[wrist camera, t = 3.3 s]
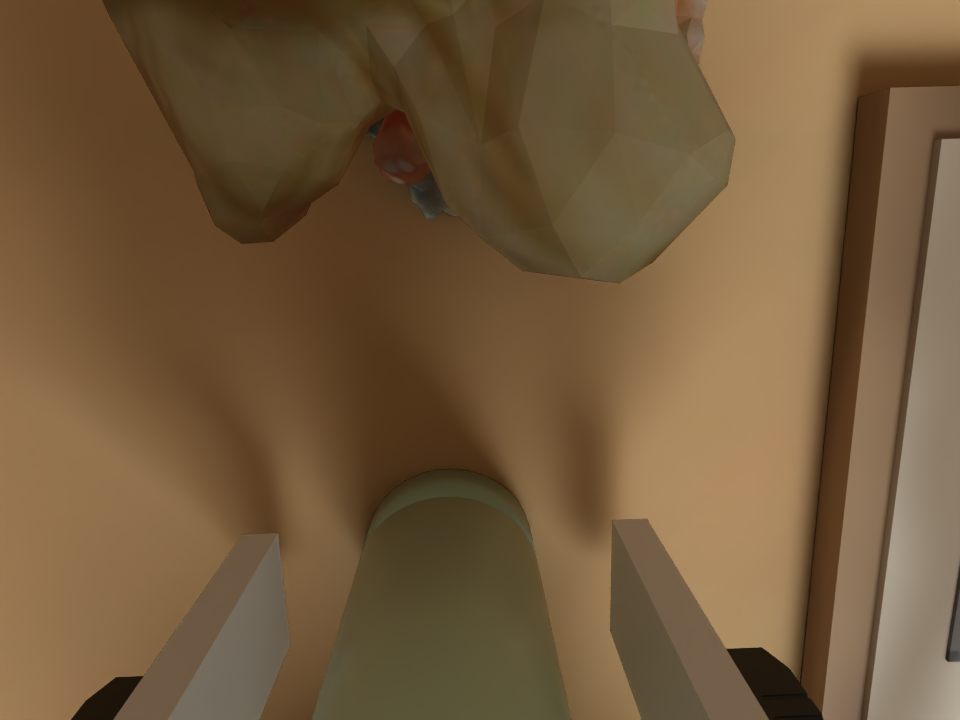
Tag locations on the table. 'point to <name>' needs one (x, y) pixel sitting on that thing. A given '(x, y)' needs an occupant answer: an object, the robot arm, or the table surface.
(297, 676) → the table surface
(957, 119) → the picture board
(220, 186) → the figurine
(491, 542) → the cylinder
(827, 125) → the table surface
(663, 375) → the table surface
